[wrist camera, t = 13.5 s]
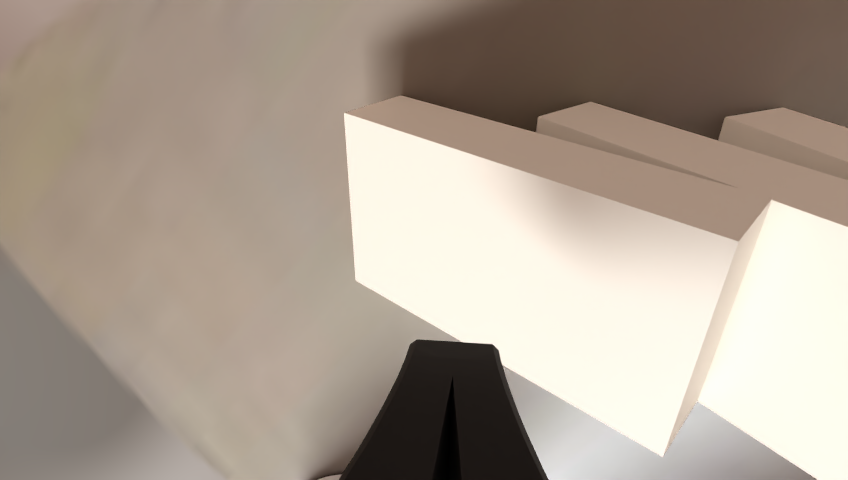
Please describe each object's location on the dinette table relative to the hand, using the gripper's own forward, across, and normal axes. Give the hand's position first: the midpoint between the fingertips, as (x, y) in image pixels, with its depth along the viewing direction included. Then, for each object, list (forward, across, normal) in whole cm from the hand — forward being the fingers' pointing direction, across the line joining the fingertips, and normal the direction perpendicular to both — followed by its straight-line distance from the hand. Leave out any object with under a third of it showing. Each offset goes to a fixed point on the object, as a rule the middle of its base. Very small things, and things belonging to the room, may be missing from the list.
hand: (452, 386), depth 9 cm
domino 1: (+7, +2, 0) cm, 7 cm away
